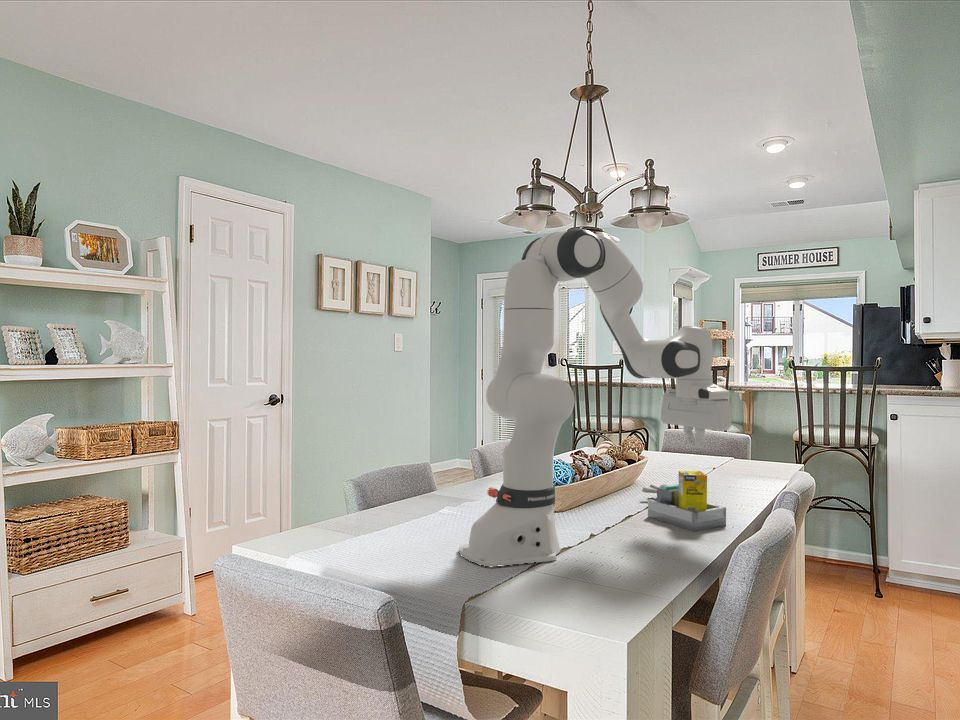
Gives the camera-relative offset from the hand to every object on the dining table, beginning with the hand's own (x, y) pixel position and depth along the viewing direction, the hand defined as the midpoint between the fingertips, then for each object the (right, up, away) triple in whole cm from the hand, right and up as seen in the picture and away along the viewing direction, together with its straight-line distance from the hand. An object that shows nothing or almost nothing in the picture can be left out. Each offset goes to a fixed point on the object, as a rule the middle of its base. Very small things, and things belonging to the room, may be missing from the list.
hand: (693, 444), depth 167 cm
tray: (-1, -20, +2) cm, 20 cm away
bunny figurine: (+1, -20, +24) cm, 31 cm away
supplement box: (0, -18, 0) cm, 18 cm away
